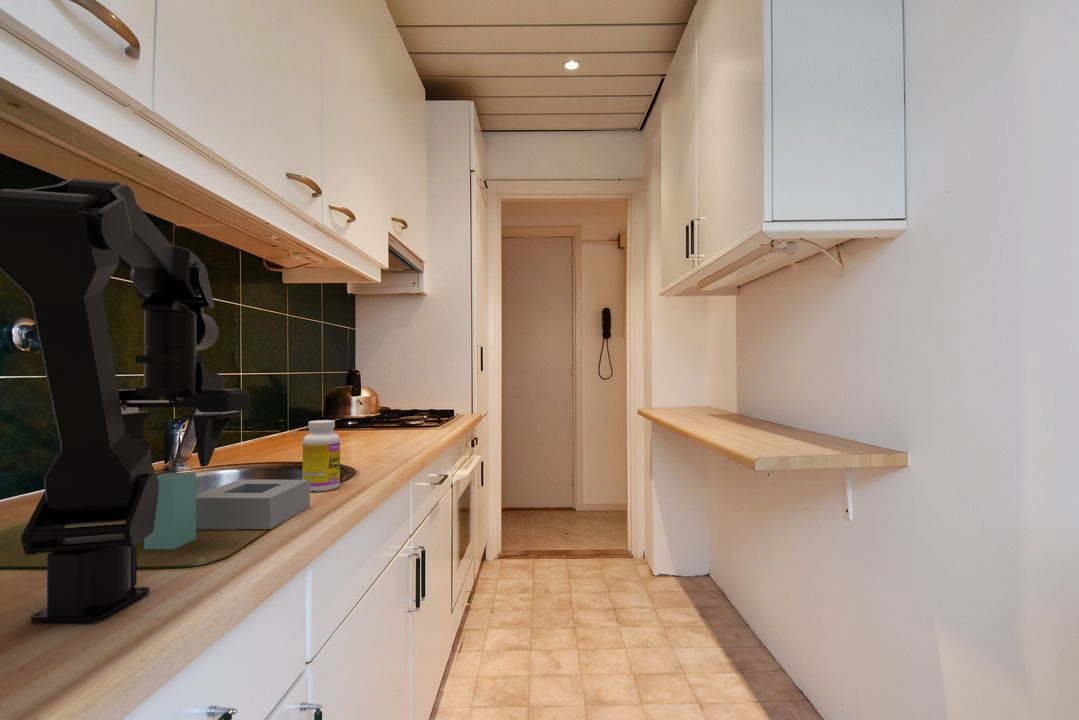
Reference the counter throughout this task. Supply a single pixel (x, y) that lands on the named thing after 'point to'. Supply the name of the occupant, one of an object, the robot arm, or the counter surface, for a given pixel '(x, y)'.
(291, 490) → the well block
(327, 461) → the supplement bottle
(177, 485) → the teal block
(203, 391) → the robot arm
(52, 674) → the counter surface
